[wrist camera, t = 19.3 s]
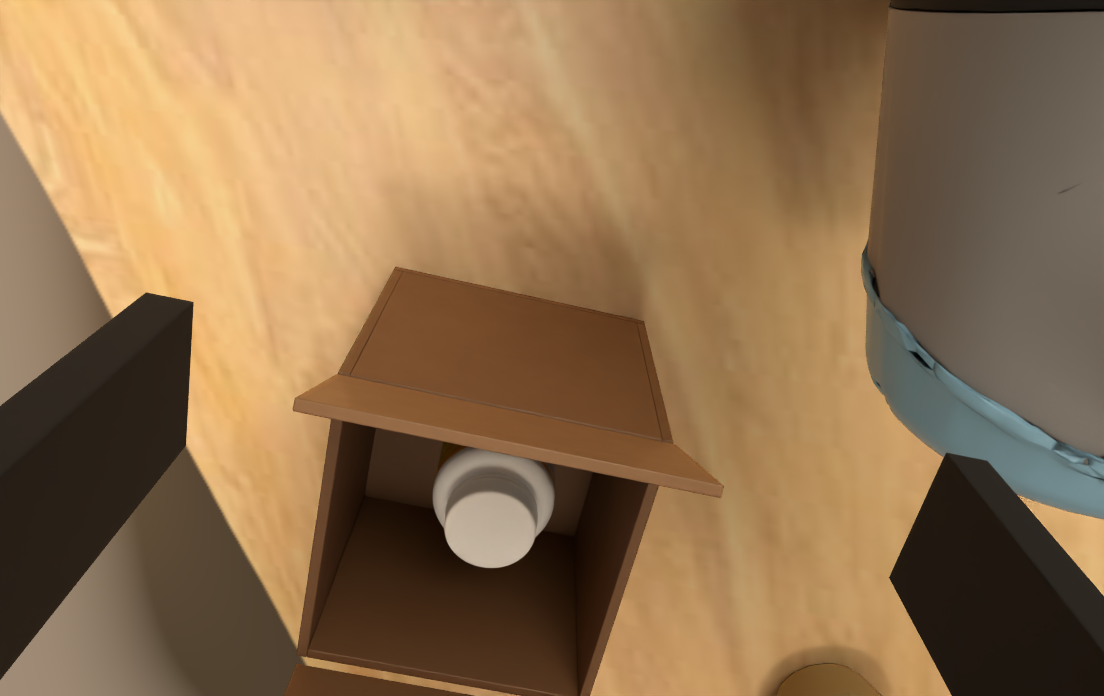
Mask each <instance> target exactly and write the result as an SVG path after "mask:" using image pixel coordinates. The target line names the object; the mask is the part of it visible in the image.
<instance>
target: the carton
mask: <svg viewBox="0 0 1104 696" xmlns="http://www.w3.org/2000/svg"><path fill="white" fill-rule="evenodd" d="M338 375H343V376H348V377H353V378H357V379H362V380H367V381H372V382H377V383H382V384H386V385H391V386H396V387H401V388H406V389H410V390H415V391H420V392H425V393H430V394H434V395H439V396H444V397H449V398H454V399H458V400H463V401H468V402H473V403H478V404H483V405H487V406H492V407H497V408H502V409H507V410H511V411H516V412H521V413H526V414H531V415H535V416H540V417H545V418H550V419H555V420H559V421H564V422H569V423H574V424H579V425H584V426H588V427H593V428H598V429H603V430H608V431H612V432H617V433H622V434H627V435H632V436H636V437H641V438H646V439H651V440H656V441H660V442H665V443H670V444H673V439H672V435H671V431H670V427H669V423H668V418H667V414H666V410H665V406H664V402H663V398H662V394H661V390H660V385H659V381H658V377H657V373H656V369H655V365H654V361H653V357H652V352H651V348H650V344H649V340H648V336H647V332H646V328H645V324H644V321H640V320H635V319H631V318H626V317H622V316H617V315H613V314H608V313H604V312H599V311H595V310H590V309H585V308H581V307H576V306H572V305H567V304H563V303H558V302H554V301H549V300H544V299H540V298H535V297H531V296H526V295H522V294H517V293H513V292H508V291H503V290H499V289H494V288H490V287H485V286H481V285H476V284H472V283H467V282H462V281H458V280H453V279H449V278H444V277H440V276H435V275H431V274H426V273H421V272H417V271H412V270H408V269H403V268H399V267H395V269H394V271H393V273H392V275H391V276H390V278H389V280H388V282H387V284H386V286H385V287H384V289H383V291H382V293H381V295H380V297H379V298H378V300H377V302H376V304H375V306H374V308H373V309H372V311H371V313H370V315H369V317H368V319H367V321H366V322H365V324H364V326H363V328H362V330H361V332H360V333H359V335H358V337H357V339H356V341H355V343H354V344H353V346H352V348H351V350H350V352H349V354H348V355H347V357H346V359H345V361H344V363H343V365H342V366H341V368H340V370H339V372H338ZM442 446H443V441H438V440H433V439H428V438H423V437H418V436H414V435H409V434H404V433H399V432H394V431H389V430H384V429H379V428H374V427H369V426H364V425H359V424H355V423H350V422H345V421H340V420H335V419H331V425H330V432H329V438H328V445H327V452H326V459H325V465H324V472H323V479H322V486H321V493H320V499H319V506H318V513H317V520H316V526H315V533H314V540H313V547H312V554H311V560H310V567H309V574H308V581H307V587H306V594H305V601H304V608H303V614H302V621H301V628H300V635H299V642H298V648H297V655H298V656H304V657H306V656H307V657H309V658H315V659H320V660H326V661H331V662H337V663H342V664H348V665H354V666H359V667H365V668H370V669H376V670H381V671H387V672H392V673H398V674H404V675H409V676H415V677H420V678H426V679H431V680H437V681H442V682H448V683H454V684H459V685H465V686H470V687H476V688H481V689H487V690H492V691H498V692H504V693H509V694H515V695H520V696H590V694H591V691H592V688H593V685H594V682H595V679H596V675H597V672H598V669H599V666H600V663H601V660H602V657H603V654H604V651H605V648H606V645H607V642H608V639H609V636H610V633H611V630H612V627H613V624H614V621H615V618H616V615H617V612H618V609H619V605H620V602H621V599H622V596H623V593H624V590H625V587H626V584H627V581H628V578H629V575H630V572H631V569H632V566H633V563H634V560H635V557H636V554H637V551H638V548H639V545H640V542H641V539H642V536H643V532H644V529H645V526H646V523H647V520H648V517H649V514H650V511H651V508H652V505H653V502H654V499H655V496H656V493H657V490H658V487H659V485H654V484H649V483H644V482H640V481H635V480H630V479H625V478H620V477H615V476H610V475H605V474H600V473H595V472H590V471H585V470H581V469H576V468H571V467H566V466H561V465H556V464H554V477H555V500H554V508H553V511H552V515H551V517H550V519H549V521H548V523H547V525H546V526H545V528H544V529H543V530H542V531H541V532H540V533H539V534H538V535H537V536H536V537H535V540H534V542H533V545H532V547H531V548H530V550H529V551H528V553H527V554H526V555H525V556H524V557H522V558H521V559H520V560H518V561H517V562H515V563H513V564H510V565H508V566H504V567H499V568H484V567H479V566H475V565H472V564H470V563H467V562H466V561H464V560H462V559H461V558H460V557H458V556H457V555H456V554H455V553H454V552H453V551H452V549H451V548H450V547H449V545H448V543H447V540H446V537H445V532H444V528H443V526H442V525H441V523H440V522H439V520H438V518H437V516H436V513H435V510H434V506H433V486H434V481H435V477H436V473H437V469H438V464H439V460H440V455H441V451H442ZM284 696H473V695H467V694H461V693H456V692H450V691H445V690H439V689H434V688H428V687H422V686H417V685H411V684H406V683H400V682H395V681H389V680H383V679H378V678H372V677H367V676H361V675H355V674H350V673H344V672H339V671H333V670H328V669H322V668H316V667H311V666H305V665H300V664H297V665H296V666H295V669H294V671H293V674H292V676H291V679H290V681H289V683H288V686H287V689H286V691H285V694H284Z"/></svg>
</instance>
